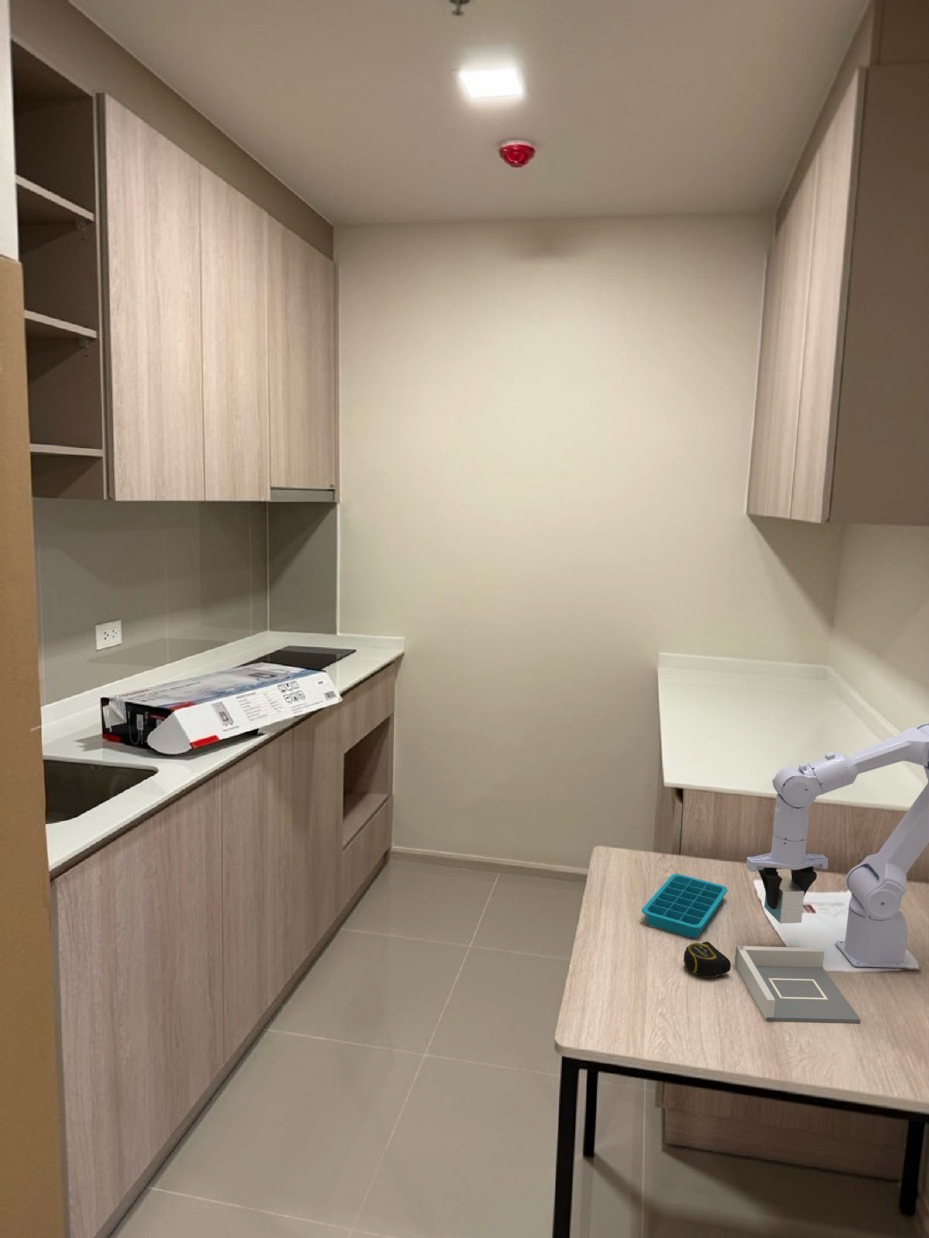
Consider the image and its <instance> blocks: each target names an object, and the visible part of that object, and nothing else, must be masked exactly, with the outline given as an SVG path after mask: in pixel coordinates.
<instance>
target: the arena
mask: <svg viewBox="0 0 929 1238" xmlns="http://www.w3.org/2000/svg"><path fill="white" fill-rule="evenodd" d="M824 958H825V950H823V948H822V947H798V946H797V947H793V946H790V947H789V946H782V947H781V946H756V945H753V946H752V945H751V946H750V945H749V946H748V945H736V948H735V957H734V959H735V960H734V966H735V968H736V970H737V972H738V973H739V975H740V977H741V979H742V981H743V983H744V984H745V986H746V988H747V989H748V992H749V993H750V995H751V997H752V999H753V1000H754V1002H755V1004H756V1005H757V1007H758V1010H759V1011H760V1013H761V1014H762V1017H763V1018H764V1020H765V1021H767V1022H772V1021H773V1022H799V1023H800V1022H803V1023H805V1022H806V1023H808V1022H809V1023H810V1022H811V1023H840V1024H841V1023H847V1024H851V1023H852V1024H853V1023H854V1024H861V1020H862V1019H861V1018H860V1017H859V1015H858V1014H857V1012H856V1011H855V1010H854V1009H853V1006H851V1004H850V1003H849V1001H848V1000H847V999H846V997H845V995H843V993H842V992H841V990H840V989H839V988H838V987H837V985H836V984H835V982H834V981H833V980H832V978H831V977H830V976H829V974H828V972H827V971H826V970H825V969H824V960H825V959H824Z"/></svg>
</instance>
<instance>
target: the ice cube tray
mask: <svg viewBox="0 0 929 1238" xmlns="http://www.w3.org/2000/svg"><path fill="white" fill-rule="evenodd" d="M662 884H663V885H661V887H659V889H658V890H657V892H655V893H654V895H653V896H652V897H651V898H650V899H649V900H648V902H647V903H646V904H645V905H644V906H643V907H642V909H641V912H642V914H644V915H646V924H647V925H649V926H651V927H655V928H658V929H660V930H661V929H662V930H664V931H669V932H671V933H675V934H679V935H681V936H685V937H688V938H691V939H696V938H698V937H699V936H700V934H701V933H702V932H703V930H704V929H705V927H706V926H707V924H708V923H709V921H710V920H711V919H712V917H713V916H714V914H715V913H716V911H717V910H718V909H719V907H720V906H721V904H722V901H723V899H724V897H725V896H726V895H727V892H728V887H727V886H725V885H722V884H719V883H715V882H712V881H708V880H703V879H699V878H696V877H691V876H689V875H684V874H679V873H674V874H671V875H670V876H669V878H668V879H667V880H666V881H665V882H664V883H662Z"/></svg>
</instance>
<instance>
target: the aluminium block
mask: <svg viewBox="0 0 929 1238" xmlns="http://www.w3.org/2000/svg"><path fill="white" fill-rule="evenodd" d="M779 876H780V877H781V878H782V882H781V884H780V887H779V891H778V899H777V906H776V909H771V908H770V907H769V906H768V905H767V899H766V893H765V896H764V909H765V910H766V911H767V912H768V913H769V914H771V916H772V917H773V918H774V919H775V920H776V921H777V922H778V923H779V925H780V924H781V925H782V924H800V923H802V920H803V918H802V917H803V909H804V899H805V896H804V890H802V889H801V888H800V887H799V886H798V885H797V884H796V883H795V882H794V881H793V880H792V878H790V876H788V875H779Z"/></svg>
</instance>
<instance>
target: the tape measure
mask: <svg viewBox="0 0 929 1238" xmlns="http://www.w3.org/2000/svg"><path fill="white" fill-rule="evenodd" d="M683 962H684V965H685V967H686V968H687V969H688V971H689V972H691V973H693V974H695V975H697V976H700V977H703V978H716V977H718V976H720V975H725V974H727V973H729V972H730V971H731V968H732V963H731V961H730V960H729V958H728V957H727V956H726V955H724V954H723V953H722V952H720V951H719V950H718V949H717V948H716V947H715V946H714V945H713V944H712V943H711V942H709V941H704V942H694V943H690V944H689V945H688V946H686V948H685V951H684V953H683Z"/></svg>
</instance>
